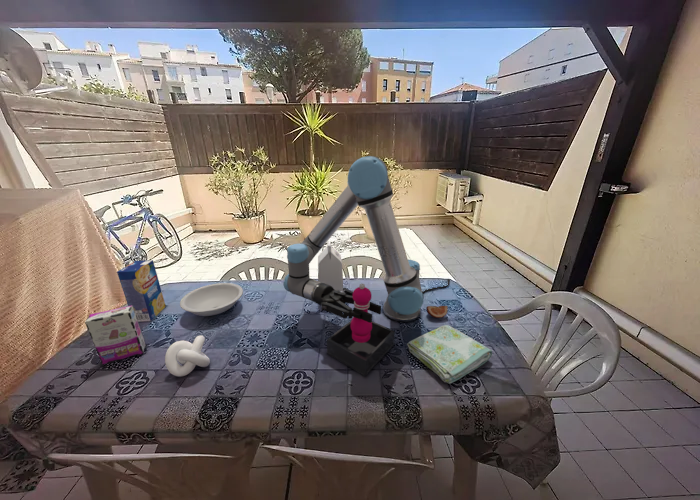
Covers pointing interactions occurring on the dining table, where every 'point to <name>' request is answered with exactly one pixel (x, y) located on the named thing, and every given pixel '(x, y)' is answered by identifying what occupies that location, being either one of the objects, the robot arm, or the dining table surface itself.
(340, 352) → the open box
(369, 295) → the pepper mill
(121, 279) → the blue cracker box
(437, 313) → the fruit slice
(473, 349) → the towel
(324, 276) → the milk
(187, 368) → the white knot sculpture
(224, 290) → the soup bowl
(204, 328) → the dining table surface
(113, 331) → the candy bar box
